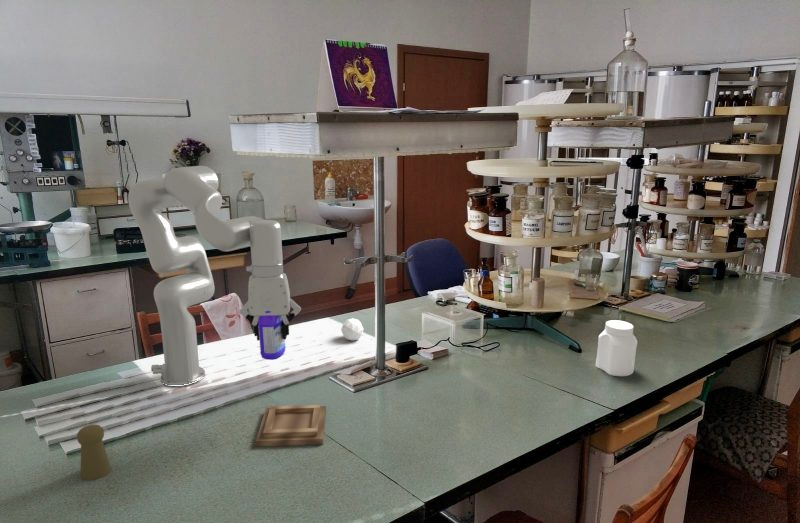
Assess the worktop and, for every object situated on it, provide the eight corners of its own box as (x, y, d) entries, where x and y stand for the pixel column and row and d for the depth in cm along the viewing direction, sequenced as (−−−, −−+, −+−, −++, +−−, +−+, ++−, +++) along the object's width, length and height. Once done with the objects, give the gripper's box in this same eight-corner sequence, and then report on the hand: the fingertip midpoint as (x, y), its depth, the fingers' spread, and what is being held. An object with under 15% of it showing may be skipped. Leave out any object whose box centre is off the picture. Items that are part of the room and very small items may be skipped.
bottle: (278, 362, 143) (273, 296, 138) (257, 360, 144) (252, 295, 139) (289, 350, 149) (285, 287, 145) (268, 349, 151) (264, 286, 146)
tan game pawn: (87, 464, 129) (81, 421, 126) (115, 463, 130) (109, 420, 127) (75, 480, 123) (68, 436, 121) (104, 479, 124) (98, 435, 121)
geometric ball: (355, 348, 201) (355, 337, 195) (337, 337, 204) (336, 325, 197) (367, 333, 206) (367, 321, 199) (349, 322, 208) (349, 310, 202)
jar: (590, 363, 185) (594, 320, 182) (613, 359, 189) (618, 316, 185) (615, 378, 175) (621, 333, 171) (639, 373, 179) (645, 329, 175)
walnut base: (256, 446, 137) (255, 436, 136) (266, 412, 152) (265, 403, 152) (322, 444, 138) (322, 434, 138) (326, 410, 154) (325, 401, 153)
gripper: (229, 275, 137) (235, 345, 141) (301, 273, 138) (305, 342, 142) (235, 267, 144) (240, 334, 148) (304, 265, 145) (307, 331, 150)
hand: (272, 337), depth 145 cm, fingers closed on bottle, 5 cm apart
